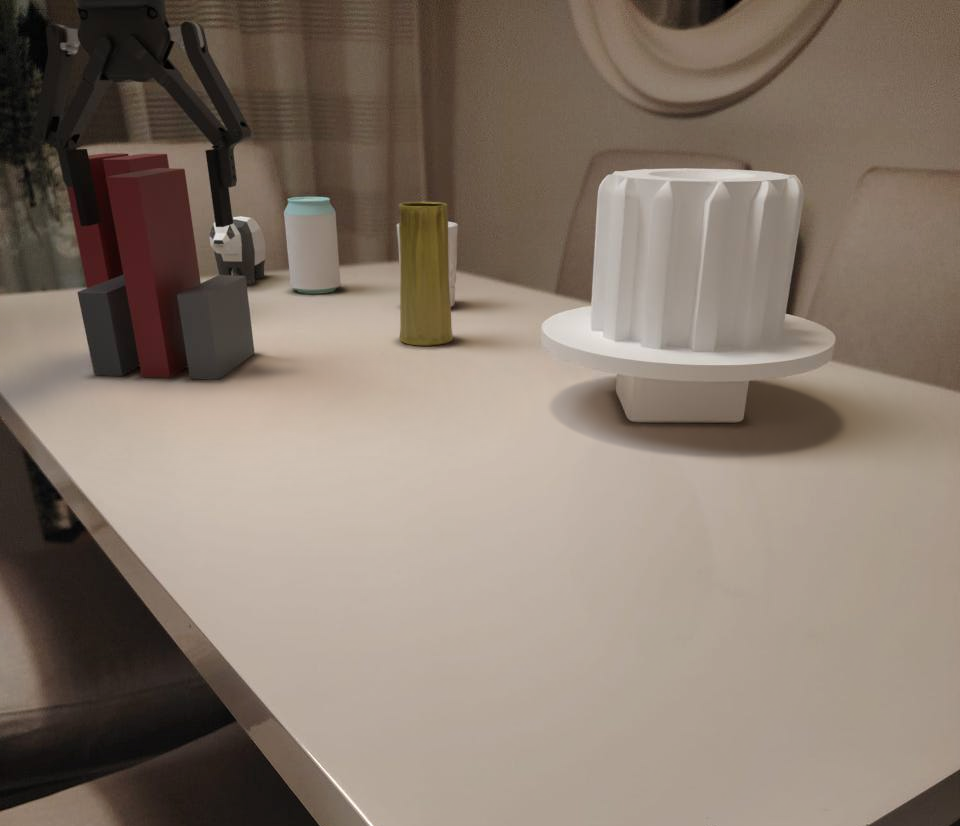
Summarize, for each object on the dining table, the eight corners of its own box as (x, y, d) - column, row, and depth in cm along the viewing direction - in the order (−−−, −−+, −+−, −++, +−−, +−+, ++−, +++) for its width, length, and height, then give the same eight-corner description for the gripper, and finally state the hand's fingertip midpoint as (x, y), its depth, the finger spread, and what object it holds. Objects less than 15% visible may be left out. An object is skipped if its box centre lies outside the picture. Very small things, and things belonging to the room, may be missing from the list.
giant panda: (235, 274, 146) (227, 207, 141) (270, 274, 146) (263, 207, 141) (205, 291, 134) (195, 218, 129) (243, 292, 133) (234, 218, 128)
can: (343, 293, 132) (336, 200, 126) (292, 295, 131) (283, 201, 125) (338, 284, 138) (331, 195, 132) (289, 286, 137) (281, 196, 131)
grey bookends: (94, 375, 94) (76, 291, 90) (141, 349, 103) (127, 272, 99) (218, 379, 93) (207, 295, 89) (254, 353, 102) (245, 275, 98)
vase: (463, 340, 108) (463, 204, 100) (423, 349, 104) (420, 208, 97) (428, 331, 111) (425, 199, 104) (388, 340, 108) (382, 203, 100)
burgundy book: (141, 377, 94) (105, 176, 84) (184, 351, 103) (156, 168, 94) (170, 378, 93) (137, 177, 84) (210, 351, 103) (184, 168, 94)
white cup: (468, 302, 127) (468, 222, 122) (442, 313, 121) (440, 229, 115) (417, 298, 130) (414, 219, 125) (389, 308, 123) (385, 226, 118)
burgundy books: (93, 322, 116) (60, 158, 107) (132, 304, 125) (105, 153, 116) (155, 323, 115) (127, 159, 106) (189, 306, 124) (167, 153, 115)
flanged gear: (546, 451, 74) (556, 188, 65) (533, 370, 96) (539, 163, 86) (861, 452, 74) (918, 188, 65) (777, 371, 96) (811, 164, 86)
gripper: (267, -42, 82) (292, 221, 93) (1, -36, 85) (56, 219, 96) (238, -53, 76) (269, 230, 87) (-49, -46, 79) (16, 228, 89)
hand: (157, 225), depth 91 cm, fingers open, 13 cm apart
